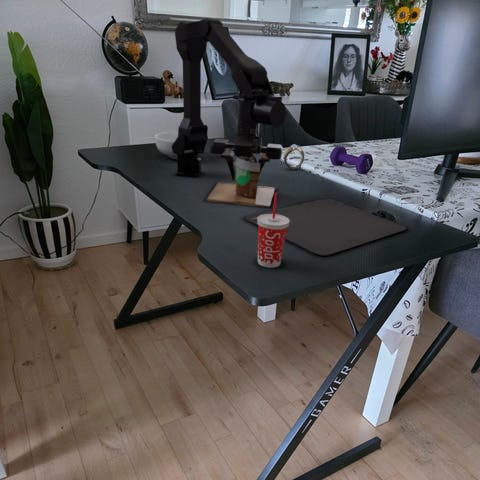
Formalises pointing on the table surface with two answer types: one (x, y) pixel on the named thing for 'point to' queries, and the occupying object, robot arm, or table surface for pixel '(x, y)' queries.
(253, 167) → the food container
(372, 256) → the table surface
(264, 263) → the beverage cup
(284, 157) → the ring
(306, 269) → the table surface
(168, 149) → the cereal bowl
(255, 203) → the placemat
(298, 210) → the mouse pad
